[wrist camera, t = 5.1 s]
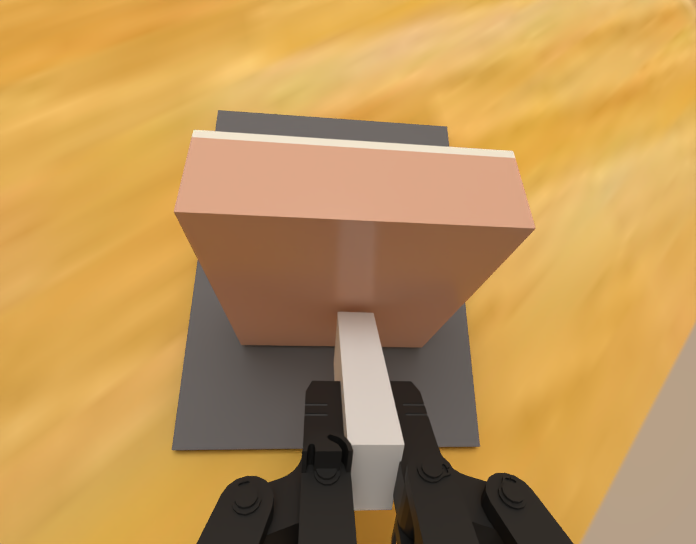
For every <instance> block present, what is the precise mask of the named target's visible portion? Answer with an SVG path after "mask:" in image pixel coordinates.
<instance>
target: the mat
mask: <svg viewBox="0 0 696 544" xmlns="http://www.w3.org/2000/svg"><path fill="white" fill-rule="evenodd" d="M215 131H219V132H234V133H249V134H264V135H279V136H294V137H309V138H324V139H339V140H354V141H369V142H384V143H399V144H414V145H429V146H444V147H449V141H448V132H447V127H444V126H430V125H416V124H402V123H388V122H374V121H361V120H347V119H333V118H319V117H305V116H291V115H277V114H263V113H249V112H235V111H221V110H218V116H217V123H216V130H215ZM382 351H383V355H384V360H385V364H386V368H387V372H388V377H389V381H411V382H412V383H413V384H414V385H415V386H416V387H417V389H418V390H419V391H420V392H421V395H422V399H423V402H424V406H425V408H426V411H427V416H428V417H429V420H430V423H431V426H432V429H433V432H434V435H435V438H436V441H437V444H438V447H480V443H479V433H478V423H477V414H476V404H475V394H474V385H473V375H472V365H471V355H470V346H469V336H468V326H467V316H466V307H465V303H464V304H463V305H462V306H461V307H460V308H459V309H458V310H457V311H456V312H455V313H454V314H453V316H452V317H451V318H450V319H449V320H448V321H447V322H446V323H445V324H444V325H443V326H442V327H441V328H440V329H439V330H438V331H437V332H436V333H435V334H434V335H433V336H432V338H431V339H430V340H429V341H428V342H427V343H426V344H425V345H424V346H423V347H422V348H420V347H382ZM334 353H335V346H278V345H241V344H240V342H239V340H238V338H237V336H236V334H235V332H234V330H233V328H232V326H231V324H230V322H229V320H228V318H227V316H226V314H225V312H224V310H223V308H222V306H221V304H220V302H219V300H218V298H217V296H216V294H215V292H214V290H213V288H212V286H211V284H210V282H209V280H208V278H207V276H206V274H205V272H204V270H203V268H202V266H201V264H200V262H199V261H198V262H197V269H196V277H195V284H194V291H193V299H192V306H191V313H190V321H189V328H188V335H187V343H186V350H185V357H184V364H183V372H182V379H181V386H180V394H179V401H178V408H177V416H176V423H175V430H174V438H173V445H172V450H225V449H303V435H304V414H305V394H306V390H307V388H308V386H309V385H310V383H311V382H312V381H334Z"/></svg>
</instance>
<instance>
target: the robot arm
mask: <svg viewBox="0 0 696 544" xmlns="http://www.w3.org/2000/svg"><path fill="white" fill-rule="evenodd" d="M393 500H394V504H395V509H396V519H395V524H394V529H393V533H392V540H391V544H396V541H397V544H573V542H572V541H571V540H570V538H569V537H568V536H567V535H566V533H565V532H564V531H563V529H562V528H561V527H560V525H559V524H558V523H557V522H556V520H555V519H554V518H553V516H552V515H551V514H550V512H549V511H548V510H547V509H546V507H545V506H544V505H543V503H542V502H541V501H540V499H539V498H538V497H537V496H536V494H535V493H534V492H533V490H532V489H531V488H530V487H529V486H528V485H527V484H526V483H525V482H524V481H522V480H521V479H519V478H517V477H516V476H513V475H510V474H507V473H495V474H494V475H492V476H490V477H489V478H488V480H487V482H486V481H483V480H479V479H476V478H473V477H469V476H466V475H464V474H461V473H459V472H458V471H456V470H454V469H453V468H452V466H451V465H450V463H449V462H448V461H447V460H446V459H445V458H443V457H442V455H441V453H440V450H439V447H438V444H437V441H436V438H435V435H434V432H433V429H432V426H431V423H430V420H429V417H428V416H427V411H426V408H425V406H424V402H423V399H422V395H421V392H420V391H419V390H418V389H417V387H416V386H415V385H414V384H413V383H412V382H411V381H389V377H388V372H387V368H386V364H385V360H384V355H383V351H382V347H381V343H380V338H379V334H378V330H377V326H376V321H375V317H374V313H366V312H338V313H337V326H336V339H335V353H334V381H312V382H311V383H310V385H309V386H308V388H307V390H306V394H305V414H304V435H303V450H302V459H301V461H300V463H299V465H298V466H297V467H296V469H295V470H294V471H293V472H291V473H290V474H289V475H287V476H285V477H283V478H280V479H277V480H274V481H271V482H267V481H266V480H264V479H262V478H260V477H257V476H245V477H242V478H239V479H236V480H235V481H234V482H232V483H231V484H229V485H228V486H227V487H226V489H225V490H224V491H223V493H222V494H221V496H220V498H219V500H218V502H217V504H216V506H215V508H214V510H213V512H212V514H211V516H210V518H209V520H208V522H207V524H206V526H205V528H204V530H203V532H202V534H201V536H200V538H199V540H198V542H197V544H357V541H356V528H355V516H354V510H392V505H393Z"/></svg>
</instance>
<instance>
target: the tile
mask: <svg viewBox="0 0 696 544" xmlns="http://www.w3.org/2000/svg"><path fill="white" fill-rule="evenodd" d="M174 213H175V215H176V217H177V219H178V221H179V223H180V225H181V227H182V229H183V231H184V233H185V235H186V237H187V239H188V241H189V243H190V245H191V247H192V249H193V251H194V253H195V255H196V257H197V259H198V261H199V262H200V264H201V266H202V268H203V270H204V272H205V274H206V276H207V278H208V280H209V282H210V284H211V286H212V288H213V290H214V292H215V294H216V296H217V298H218V300H219V302H220V304H221V306H222V308H223V310H224V312H225V314H226V316H227V318H228V320H229V322H230V324H231V326H232V328H233V330H234V332H235V334H236V336H237V338H238V340H239V342H240V344H241V345H278V346H335V339H336V326H337V313H338V312H366V313H374V317H375V321H376V326H377V330H378V334H379V338H380V343H381V347H420V348H422V347H423V346H424V345H425V344H426V343H427V342H428V341H429V340H430V339H431V338H432V336H433V335H434V334H435V333H436V332H437V331H438V330H439V329H440V328H441V327H442V326H443V325H444V324H445V323H446V322H447V321H448V320H449V319H450V318H451V317H452V316H453V314H454V313H455V312H456V311H457V310H458V309H459V308H460V307H461V306H462V305H463V304H464V303H465V302H466V301H467V300H468V299H469V298H470V297H471V296H472V295H473V294H474V292H475V291H476V290H477V289H478V288H479V287H480V286H481V285H482V284H483V283H484V282H485V281H486V280H487V279H488V278H489V277H490V276H491V275H492V274H493V273H494V272H495V270H496V269H497V268H498V267H499V266H500V265H501V264H502V263H503V262H504V261H505V260H506V259H507V258H508V257H509V256H510V255H511V254H512V253H513V252H514V251H515V250H516V248H517V247H518V246H519V245H520V244H521V243H522V242H523V241H524V240H525V239H526V238H527V237H528V236H529V235H530V234H531V233H532V232H533V231H534V230H535V229H536V228H535V225H534V221H533V218H532V214H531V211H530V208H529V204H528V201H527V197H526V194H525V190H524V187H523V183H522V180H521V177H520V173H519V170H518V166H517V163H516V159H515V156H514V152H513V151H504V150H489V149H474V148H459V147H444V146H429V145H414V144H399V143H384V142H369V141H354V140H339V139H324V138H309V137H294V136H279V135H264V134H249V133H234V132H219V131H204V130H193V134H192V138H191V142H190V147H189V151H188V155H187V159H186V163H185V167H184V172H183V176H182V180H181V184H180V188H179V192H178V197H177V201H176V205H175V209H174Z"/></svg>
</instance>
